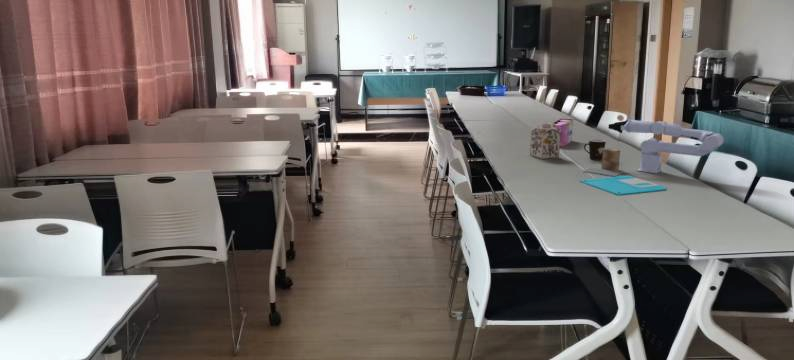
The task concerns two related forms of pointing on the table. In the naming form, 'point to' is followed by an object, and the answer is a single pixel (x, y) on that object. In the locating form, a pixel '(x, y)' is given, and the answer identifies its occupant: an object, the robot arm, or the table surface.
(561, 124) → the gum box
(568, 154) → the table surface
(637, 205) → the table surface
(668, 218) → the table surface
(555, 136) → the decorative jar
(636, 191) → the diskette
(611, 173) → the slate mat
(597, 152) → the coffee mug
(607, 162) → the cardboard box
